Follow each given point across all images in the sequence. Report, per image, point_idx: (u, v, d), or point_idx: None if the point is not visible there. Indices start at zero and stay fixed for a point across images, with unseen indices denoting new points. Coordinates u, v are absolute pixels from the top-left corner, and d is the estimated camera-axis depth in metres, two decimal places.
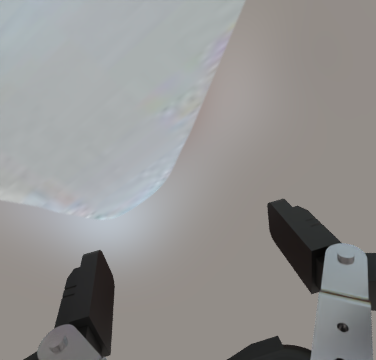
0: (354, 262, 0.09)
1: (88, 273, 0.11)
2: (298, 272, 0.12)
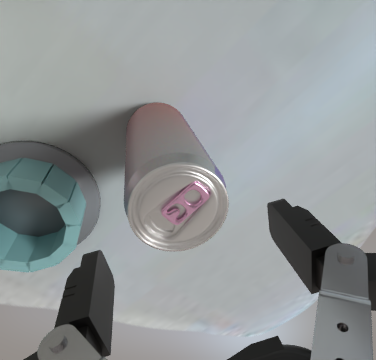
0: (354, 262, 0.09)
1: (88, 273, 0.11)
2: (298, 272, 0.12)
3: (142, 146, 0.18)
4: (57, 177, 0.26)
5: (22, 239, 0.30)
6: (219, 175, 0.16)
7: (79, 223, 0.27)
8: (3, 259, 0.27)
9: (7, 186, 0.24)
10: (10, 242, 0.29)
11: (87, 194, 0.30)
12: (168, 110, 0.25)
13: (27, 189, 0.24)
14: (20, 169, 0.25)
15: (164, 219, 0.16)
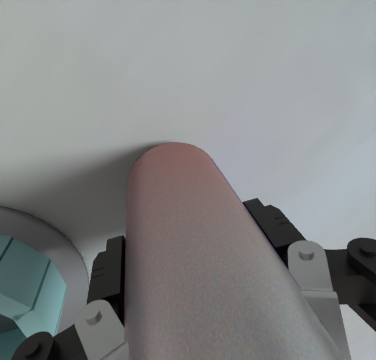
0: (313, 258, 0.10)
1: (114, 255, 0.12)
2: None
3: (164, 287, 0.08)
4: (16, 263, 0.17)
5: None
6: None
7: None
8: None
9: None
10: None
11: (68, 275, 0.20)
12: (196, 161, 0.15)
13: None
14: None
15: None
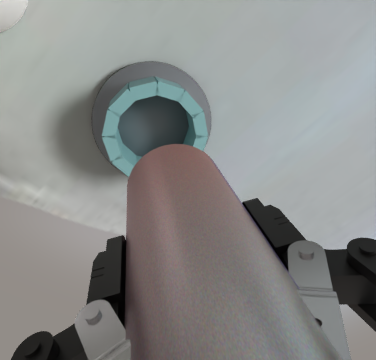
0: (313, 258, 0.10)
1: (114, 255, 0.12)
2: None
3: (165, 290, 0.08)
4: None
5: None
6: None
7: (207, 135, 0.29)
8: None
9: (155, 92, 0.26)
10: (134, 159, 0.31)
11: None
12: (197, 163, 0.15)
13: (171, 96, 0.27)
14: (161, 80, 0.27)
15: None
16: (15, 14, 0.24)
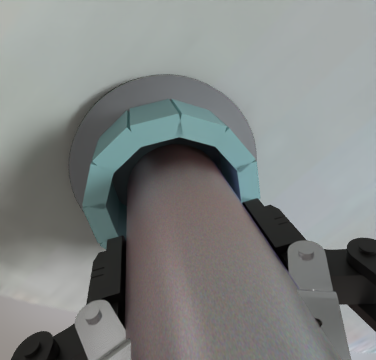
0: (313, 258, 0.10)
1: (114, 255, 0.12)
2: None
3: (165, 290, 0.08)
4: None
5: None
6: None
7: (259, 197, 0.18)
8: None
9: (176, 132, 0.15)
10: None
11: None
12: (197, 163, 0.15)
13: (204, 138, 0.15)
14: (185, 109, 0.16)
15: None
16: None
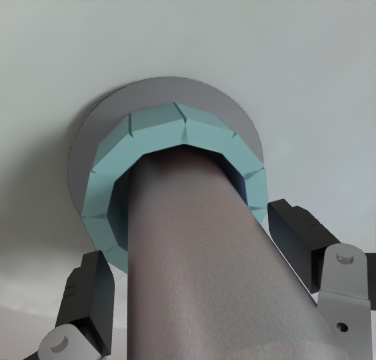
0: (354, 262, 0.09)
1: (88, 273, 0.11)
2: (298, 272, 0.12)
3: (166, 276, 0.08)
4: None
5: None
6: None
7: None
8: None
9: (181, 138, 0.14)
10: None
11: None
12: (197, 159, 0.15)
13: (210, 144, 0.14)
14: (190, 114, 0.15)
15: None
16: None
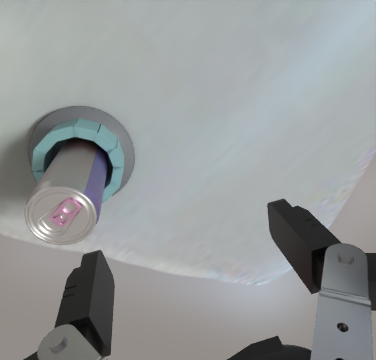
0: (354, 262, 0.09)
1: (88, 273, 0.11)
2: (298, 272, 0.12)
3: (44, 174, 0.26)
4: (105, 131, 0.35)
5: None
6: (89, 192, 0.25)
7: (123, 166, 0.35)
8: None
9: (72, 134, 0.32)
10: None
11: (125, 149, 0.38)
12: (83, 144, 0.33)
13: (87, 137, 0.33)
14: (80, 123, 0.33)
15: (54, 223, 0.25)
16: None
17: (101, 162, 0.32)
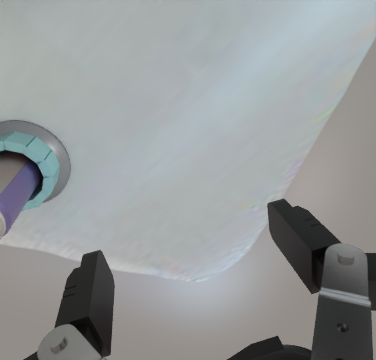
0: (354, 262, 0.09)
1: (88, 273, 0.11)
2: (298, 272, 0.12)
3: None
4: (37, 144, 0.39)
5: None
6: None
7: (52, 175, 0.39)
8: None
9: (3, 147, 0.36)
10: None
11: (60, 159, 0.42)
12: (15, 155, 0.37)
13: (17, 150, 0.37)
14: (12, 137, 0.37)
15: None
16: None
17: (28, 173, 0.36)
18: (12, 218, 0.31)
